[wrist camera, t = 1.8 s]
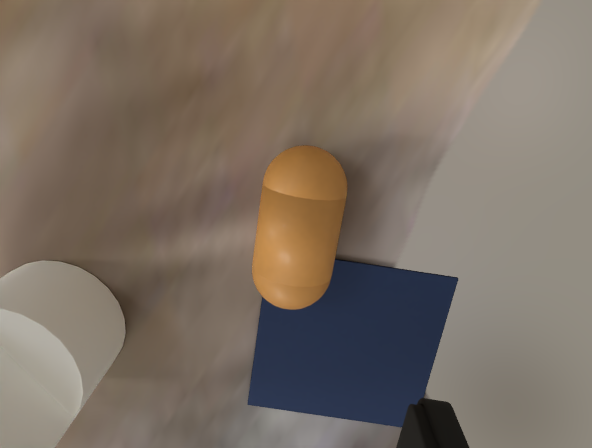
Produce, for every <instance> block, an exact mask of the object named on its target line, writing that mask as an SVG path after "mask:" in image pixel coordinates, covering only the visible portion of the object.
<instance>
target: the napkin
mask: <svg viewBox="0 0 592 448" xmlns="http://www.w3.org/2000/svg"><path fill="white" fill-rule="evenodd" d="M457 281H458V278H457V277H451V276H444V275H438V274H431V273H424V272H417V271H411V270H404V269H398V268H391V267H385V266H378V265H371V264H365V263H358V262H351V261H345V260H338V259H335V261H334V267H333V272H332V277H331V280H330V284H329V286H328V288H327V290H326V292H325V293H324V294H323V295H322V297H321V298H320V299H319V300H317V301H316V302H315V303H313V304H312V305H310V306H307V307H305V308H302V309H296V310H290V309H283V308H280V307H277V306H274V305H272V304H271V303H269V302H268V301H267V300H266V299H264V298H263V296H262V304H261V311H260V318H259V325H258V333H257V340H256V347H255V354H254V362H253V369H252V376H251V383H250V391H249V398H248V405H253V406H260V407H267V408H274V409H281V410H287V411H294V412H301V413H308V414H315V415H321V416H328V417H335V418H342V419H349V420H356V421H362V422H369V423H376V424H383V425H390V426H397V427H402V426H403V423H404V419H405V416H406V413H407V409H408V407H409V405H410V404H415V405H417V403H418V401H419V399H421V398H423V397H424V394H425V390H426V387H427V383H428V380H429V377H430V373H431V370H432V366H433V363H434V360H435V356H436V353H437V349H438V346H439V342H440V339H441V336H442V333H443V329H444V325H445V322H446V319H447V315H448V312H449V308H450V305H451V301H452V298H453V295H454V292H455V288H456V285H457Z"/></svg>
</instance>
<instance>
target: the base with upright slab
mask: <svg viewBox="0 0 592 448" xmlns="http://www.w3.org/2000/svg"><path fill="white" fill-rule="evenodd" d="M125 334H126V331H125V318H124V315H123V313H122V310H121V308H120V305H119V302H118V301H117V300H116V298H115V297H114V295H113V294H112V293H111V291H110V290H109V288H108V287H106V286H105V285H104V284H103V283H102V282H101V281H100V280H99V279H98V278H96V277H95V276H94V275H92V274H90V273H88V272H87V271H85V270H83V269H81V268H80V267H77V266H74V265H70V264H67V263H64V262H61V261H45V260H42V261H37V262H31V263H26V264H24V265H22V266H20V267H18V268H16V269H14V270H12V271H11V272H9V273H8V274H6V275H5V276H3V277H2V278H0V448H55V447H56V445H57V444H58V442H59V441H60V439H61V438H62V436H63V435H64V433H65V432H66V430H67V429H68V428H69V426H70V425H71V423H72V422H73V420H74V419H75V417H76V416H77V414H78V413H79V411H80V410H81V409H82V407H83V406H84V404H85V403H86V401H87V400H88V398H89V397H90V395H91V394H92V392H93V391H94V389H95V388H96V387H97V385H98V384H99V382H100V381H101V379H102V378H103V376H104V375H105V373H106V372H107V370H108V369H109V368H110V366H111V365H112V363H113V362H114V360H115V359H116V357H117V355H118V354H119V352H120V351H121V349H122V347H123V343H124V339H125Z"/></svg>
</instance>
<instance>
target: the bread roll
mask: <svg viewBox="0 0 592 448" xmlns="http://www.w3.org/2000/svg"><path fill="white" fill-rule="evenodd" d="M346 197H347V179H346V176H345V173H344V170H343V168H342V167H341V165H340V163H339V162H338V161H337V160H336V159H335V158H334V156H332V155H331V154H330V153H328V152H327V151H325V150H323V149H321V148H318V147H314V146H308V145H303V146H295V147H292V148H289V149H287V150H285V151H284V152H282V153H280V154H279V155H278V156H277V157H276V158H275V159H274V160H273V161H272V162H271V164H270V165H269V166H268V168H267V171H266V173H265V176H264V180H263V186H262V194H261V201H260V209H259V217H258V225H257V232H256V240H255V248H254V256H253V263H252V275H253V280H254V283H255V285H256V287H257V290H258V291H259V293H260V294H261V295H262V296H263V298H264V299H266V300H267V301H268V302H269V303H271V304H272V305H274V306H277V307H280V308H283V309H290V310H296V309H302V308H305V307H307V306H310V305H312V304H313V303H315V302H316V301H317V300H319V299H320V298H321V297H322V295H323V294H324V293H325V292H326V290H327V288H328V286H329V284H330V280H331V277H332V272H333V267H334V261H335V256H336V250H337V245H338V240H339V234H340V229H341V224H342V218H343V213H344V208H345V202H346Z"/></svg>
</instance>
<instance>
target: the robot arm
mask: <svg viewBox="0 0 592 448" xmlns="http://www.w3.org/2000/svg"><path fill="white" fill-rule="evenodd" d="M396 448H469V446H468V444H467V441H466V439H465V436H464V434H463V432H462V429H461V427H460V424H459V422H458V420H457V417H456V415H455V413H454V410H453V408H452V406H451V404H450V403H448V402H444V401H438V400H432V399H425V398H421V399H419V401H418V403H417V405H415V404H410V405H409V407H408V409H407V413H406V416H405V419H404V423H403V426H402V430H401V433H400V437H399V440H398V444H397V447H396Z"/></svg>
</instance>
